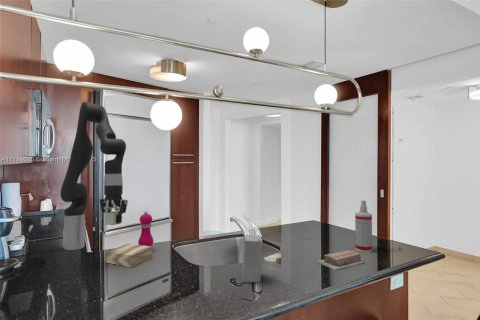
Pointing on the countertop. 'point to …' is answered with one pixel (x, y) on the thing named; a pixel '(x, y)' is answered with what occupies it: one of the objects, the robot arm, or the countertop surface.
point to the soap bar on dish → (341, 259)
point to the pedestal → (129, 255)
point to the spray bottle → (363, 229)
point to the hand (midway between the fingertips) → (113, 222)
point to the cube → (111, 218)
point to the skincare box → (252, 258)
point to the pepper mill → (146, 230)
